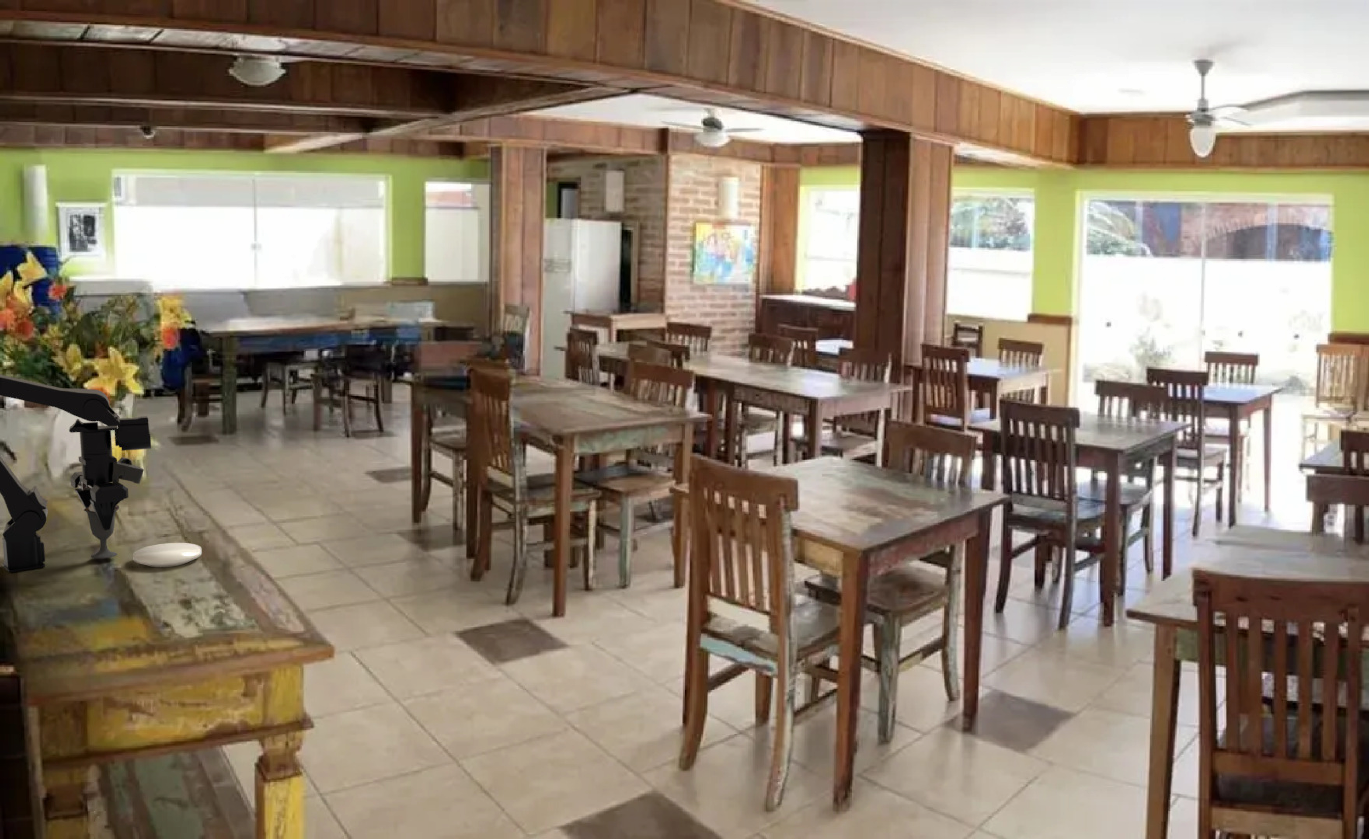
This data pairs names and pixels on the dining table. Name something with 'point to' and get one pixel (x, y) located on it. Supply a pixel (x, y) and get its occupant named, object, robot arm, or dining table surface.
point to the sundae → (101, 533)
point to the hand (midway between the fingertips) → (101, 526)
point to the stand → (167, 554)
